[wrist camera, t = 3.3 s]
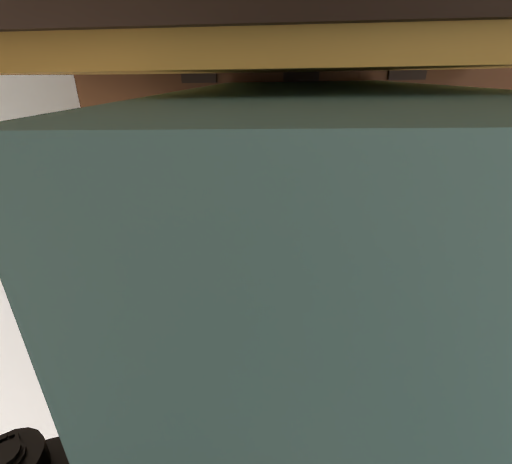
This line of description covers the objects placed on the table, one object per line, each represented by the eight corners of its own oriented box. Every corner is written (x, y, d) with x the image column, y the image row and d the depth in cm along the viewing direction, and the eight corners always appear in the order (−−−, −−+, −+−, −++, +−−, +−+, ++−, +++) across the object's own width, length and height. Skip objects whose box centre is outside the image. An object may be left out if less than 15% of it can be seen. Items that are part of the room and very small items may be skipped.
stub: (227, 82, 12) (-90, 137, 2) (377, 80, 12) (1113, 131, 1) (237, 319, 16) (165, 751, 6) (348, 322, 16) (476, 784, 5)
